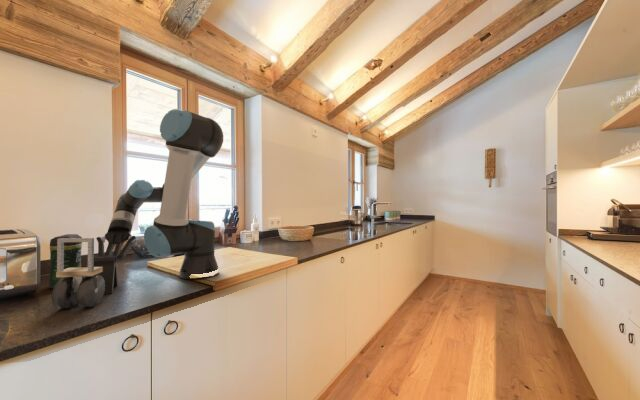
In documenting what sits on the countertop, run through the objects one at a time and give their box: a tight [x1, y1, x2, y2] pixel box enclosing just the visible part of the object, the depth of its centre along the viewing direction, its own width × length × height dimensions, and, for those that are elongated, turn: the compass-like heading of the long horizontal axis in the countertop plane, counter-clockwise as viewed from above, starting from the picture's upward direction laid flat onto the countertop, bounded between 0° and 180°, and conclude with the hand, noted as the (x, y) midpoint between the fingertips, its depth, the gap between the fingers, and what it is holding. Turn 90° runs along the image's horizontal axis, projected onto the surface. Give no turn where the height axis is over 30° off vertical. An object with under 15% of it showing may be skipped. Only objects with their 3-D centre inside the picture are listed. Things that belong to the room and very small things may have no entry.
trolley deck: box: [56, 266, 103, 277], centre depth 81 cm, size 9×5×2 cm, turn 101°
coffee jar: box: [48, 233, 83, 289], centre depth 100 cm, size 10×8×19 cm
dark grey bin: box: [94, 254, 119, 295], centre depth 94 cm, size 9×6×12 cm, turn 24°
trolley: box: [51, 237, 105, 310], centre depth 81 cm, size 9×9×20 cm
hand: (105, 276), depth 96 cm, fingers closed
